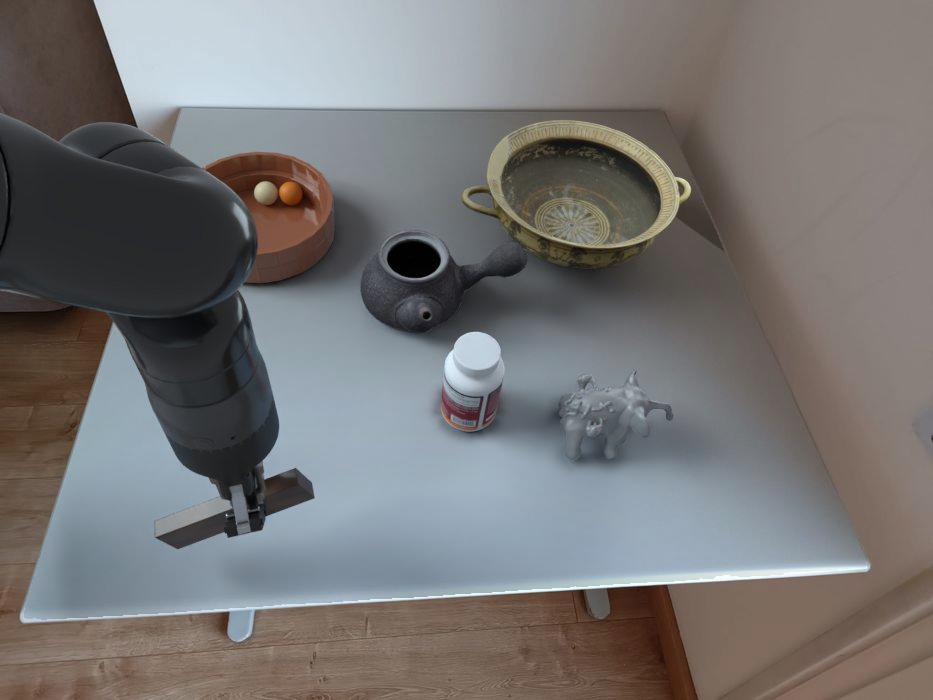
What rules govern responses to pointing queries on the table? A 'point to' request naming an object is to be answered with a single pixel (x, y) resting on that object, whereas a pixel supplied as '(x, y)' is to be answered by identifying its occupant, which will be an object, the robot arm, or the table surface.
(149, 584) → the table surface
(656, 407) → the gray elephant figurine
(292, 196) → the ball orange
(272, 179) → the bowl
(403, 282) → the teapot
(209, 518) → the stick
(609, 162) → the ceramic bowl
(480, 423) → the pill bottle
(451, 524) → the table surface
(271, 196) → the ball cream
